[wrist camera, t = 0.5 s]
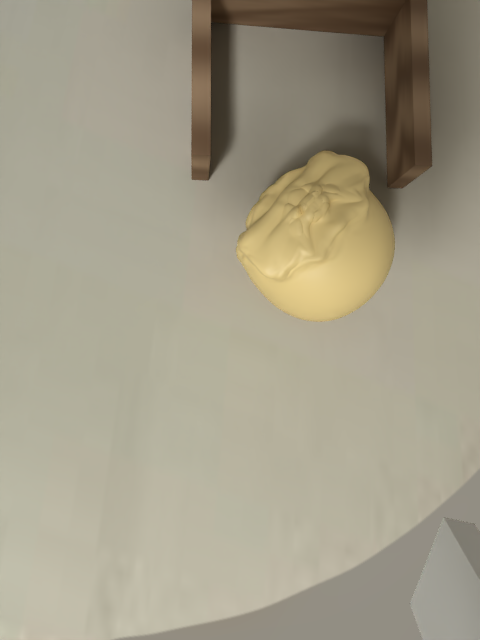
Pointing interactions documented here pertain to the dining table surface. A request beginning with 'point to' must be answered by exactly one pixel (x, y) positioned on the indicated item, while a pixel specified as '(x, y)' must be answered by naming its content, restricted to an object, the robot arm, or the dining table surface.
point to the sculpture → (318, 239)
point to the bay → (340, 17)
